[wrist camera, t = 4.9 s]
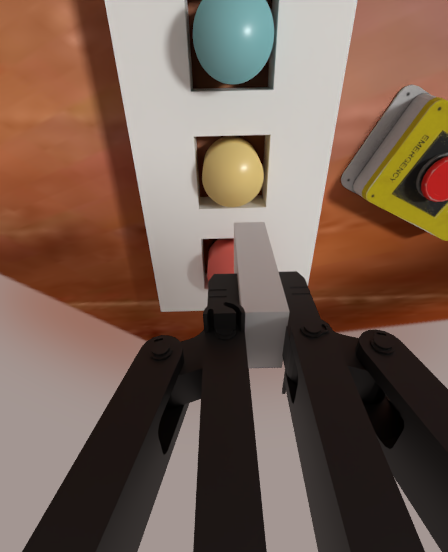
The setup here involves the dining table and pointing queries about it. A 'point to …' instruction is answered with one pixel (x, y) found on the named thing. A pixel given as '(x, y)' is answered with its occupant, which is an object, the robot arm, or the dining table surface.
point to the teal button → (233, 38)
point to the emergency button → (407, 161)
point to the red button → (221, 257)
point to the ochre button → (232, 172)
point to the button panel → (228, 133)
